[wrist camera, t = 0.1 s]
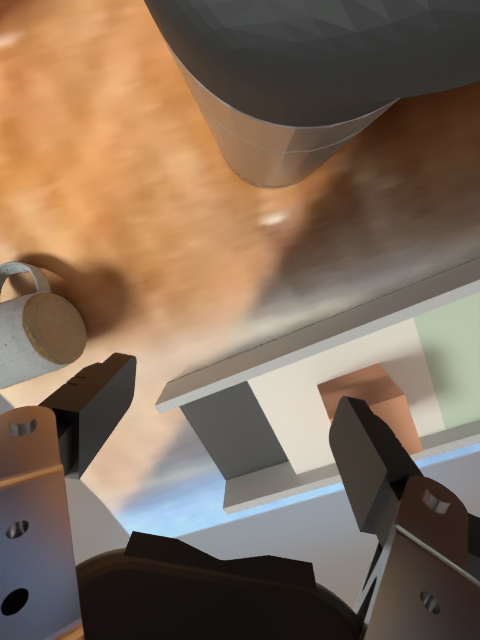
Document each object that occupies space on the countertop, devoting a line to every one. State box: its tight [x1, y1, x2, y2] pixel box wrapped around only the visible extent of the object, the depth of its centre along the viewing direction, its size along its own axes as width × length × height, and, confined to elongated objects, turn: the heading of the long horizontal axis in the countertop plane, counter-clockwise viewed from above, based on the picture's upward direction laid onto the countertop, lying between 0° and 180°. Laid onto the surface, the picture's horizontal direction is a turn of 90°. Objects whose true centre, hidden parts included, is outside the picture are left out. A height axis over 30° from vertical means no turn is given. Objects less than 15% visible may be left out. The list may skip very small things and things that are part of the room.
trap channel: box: [155, 257, 480, 514], centre depth 27 cm, size 44×16×4 cm, turn 115°
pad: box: [413, 292, 480, 430], centre depth 27 cm, size 10×14×2 cm
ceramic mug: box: [0, 261, 87, 389], centre depth 26 cm, size 11×8×8 cm
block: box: [317, 363, 423, 455], centre depth 25 cm, size 6×6×5 cm
